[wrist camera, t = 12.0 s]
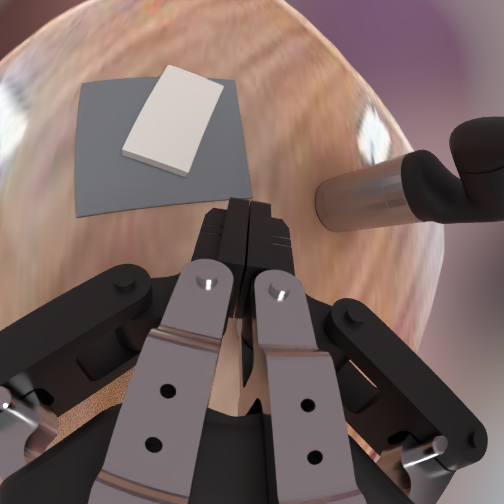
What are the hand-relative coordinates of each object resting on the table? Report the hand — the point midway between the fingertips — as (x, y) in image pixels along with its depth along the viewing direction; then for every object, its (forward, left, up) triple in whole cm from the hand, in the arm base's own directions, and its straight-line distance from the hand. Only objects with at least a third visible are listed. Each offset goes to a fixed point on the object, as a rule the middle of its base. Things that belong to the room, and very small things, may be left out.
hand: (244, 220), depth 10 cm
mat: (-1, -15, -26) cm, 30 cm away
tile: (0, -11, -24) cm, 26 cm away
